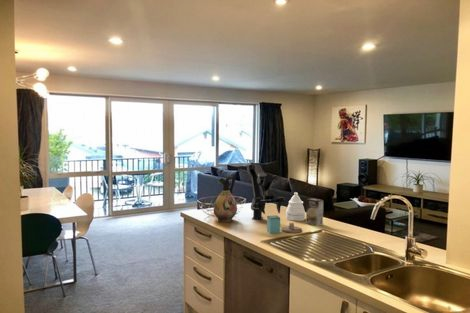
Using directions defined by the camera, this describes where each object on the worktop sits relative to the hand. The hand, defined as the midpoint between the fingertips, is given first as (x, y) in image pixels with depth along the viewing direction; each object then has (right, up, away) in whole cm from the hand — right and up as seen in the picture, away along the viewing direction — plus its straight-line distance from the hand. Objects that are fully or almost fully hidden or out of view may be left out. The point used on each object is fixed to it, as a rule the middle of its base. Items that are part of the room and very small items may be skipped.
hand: (271, 213), depth 205 cm
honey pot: (+20, -9, +32) cm, 38 cm away
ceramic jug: (-28, -9, +24) cm, 38 cm away
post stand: (+12, -10, +1) cm, 16 cm away
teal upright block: (+1, -10, -3) cm, 11 cm away
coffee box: (+29, -10, +17) cm, 35 cm away
